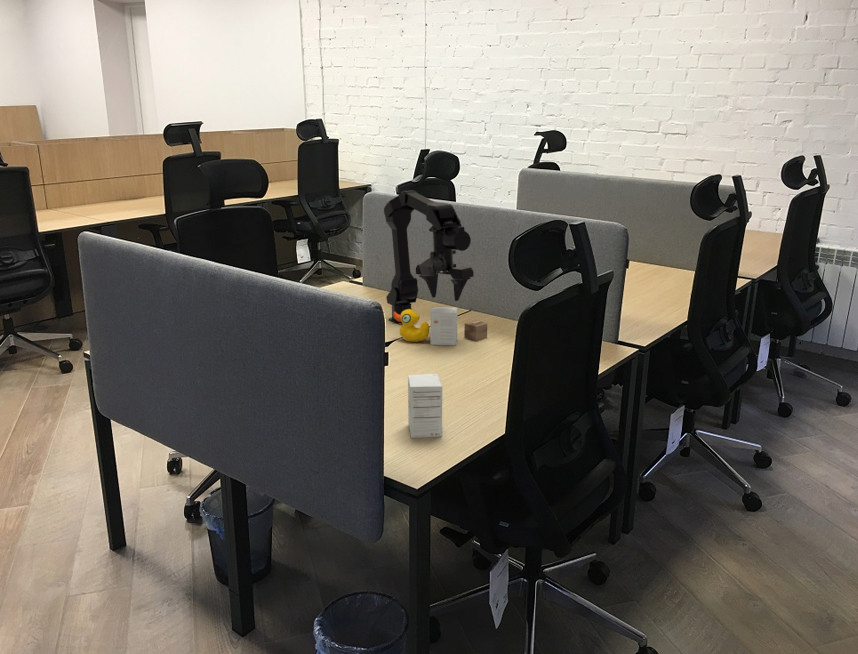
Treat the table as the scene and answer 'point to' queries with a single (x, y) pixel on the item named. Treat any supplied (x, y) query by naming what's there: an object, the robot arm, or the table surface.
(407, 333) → the duckling
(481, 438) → the table surface
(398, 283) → the robot arm
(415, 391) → the supplement box
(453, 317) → the small box
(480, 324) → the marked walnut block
